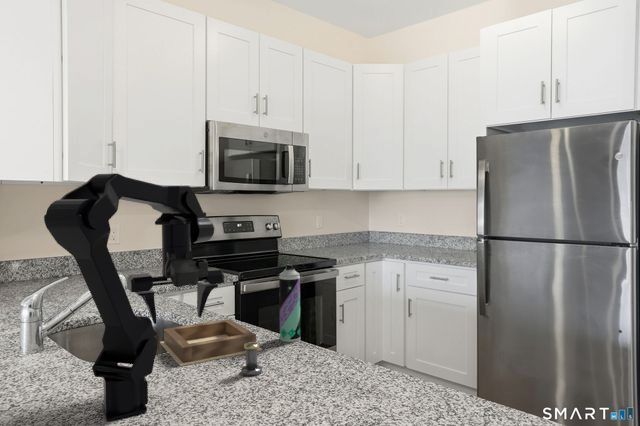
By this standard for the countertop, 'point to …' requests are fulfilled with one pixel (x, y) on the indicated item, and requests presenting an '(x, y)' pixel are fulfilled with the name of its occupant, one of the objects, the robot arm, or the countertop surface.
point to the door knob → (251, 360)
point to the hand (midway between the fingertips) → (177, 320)
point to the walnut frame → (211, 348)
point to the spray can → (289, 304)
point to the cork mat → (201, 359)
